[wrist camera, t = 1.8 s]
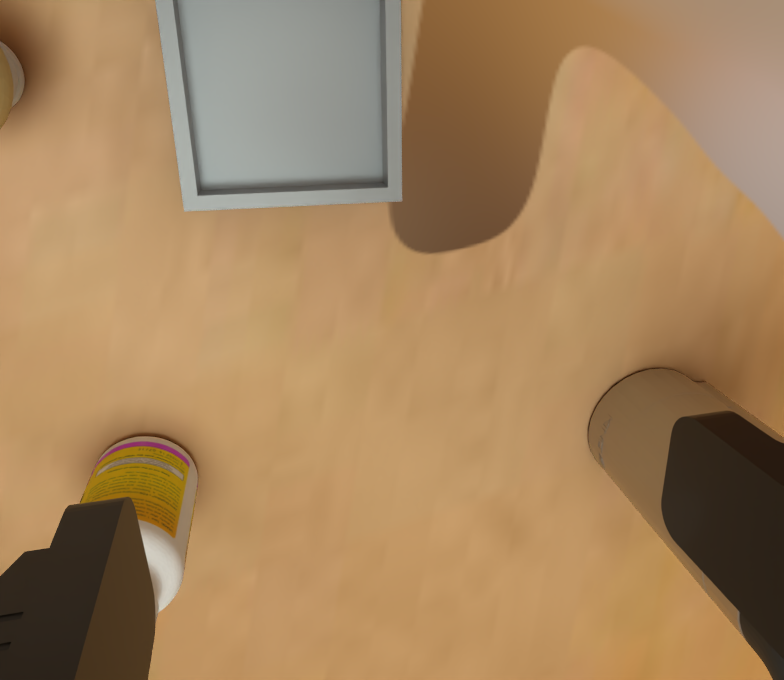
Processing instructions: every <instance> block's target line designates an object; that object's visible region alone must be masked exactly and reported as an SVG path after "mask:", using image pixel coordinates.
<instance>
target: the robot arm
mask: <svg viewBox="0 0 784 680" xmlns="http://www.w3.org/2000/svg"><path fill="white" fill-rule="evenodd" d="M588 441H589V445H590V449H591V452H592V454H593V456H594V458H595V459H596V461H597V462H598V463H599V464H600V465H601V467H602V468H603V469H604V470H605V471H606V473H607V474H608V475H609V476H610V477H611V479H612V480H613V481H614V482H615V483H616V485H617V486H618V487H619V488H620V490H621V491H622V492H623V493H624V495H625V496H626V497H627V498H628V499H629V501H630V502H631V503H632V504H633V505H634V507H635V508H636V509H637V510H638V511H639V513H640V514H641V515H642V516H643V517H644V519H645V520H646V521H647V522H648V523H649V525H650V526H651V527H652V528H653V529H654V531H655V532H656V533H657V534H658V535H659V537H660V538H661V539H662V540H663V541H664V543H665V544H666V545H667V546H668V547H669V549H670V550H671V551H672V552H673V553H674V555H675V556H676V557H677V558H678V559H679V561H680V562H681V563H682V564H683V565H684V567H685V568H686V569H687V570H688V571H689V573H690V574H691V575H692V576H693V577H694V579H695V580H696V581H697V582H698V583H699V585H700V586H701V587H702V588H703V589H704V591H705V592H706V593H707V594H708V595H709V597H710V598H711V599H712V600H713V601H714V602H715V604H716V605H717V606H718V607H719V608H720V610H721V611H722V612H723V613H724V614H725V616H726V617H727V618H728V619H729V620H730V622H731V623H732V624H733V625H734V626H735V628H736V629H737V630H738V631H739V632H740V634H741V635H742V636H743V637H744V638H745V640H746V641H747V642H748V643H749V645H750V646H751V647H752V648H753V649H754V651H755V652H756V653H757V654H758V656H759V657H760V658H761V659H762V661H763V662H764V664H765V666H766V667H767V669H768V671H769V673H770V675H771V677H772V679H773V680H784V438H783V437H782V436H781V435H779V434H778V433H776V432H775V431H774V430H772V429H771V428H769V427H768V426H767V425H765V424H764V423H763V422H761V421H760V420H758V419H757V418H756V417H754V416H753V415H751V414H750V413H749V412H747V411H746V410H745V409H743V408H742V407H740V406H739V405H738V404H736V403H735V402H733V401H732V400H731V399H729V398H728V397H727V396H725V395H724V394H722V393H721V392H720V391H718V390H717V389H715V388H714V387H713V386H711V385H710V384H709V383H707V382H694V381H692V380H691V379H689V378H688V377H686V376H685V375H684V374H682V373H679V372H677V371H674V370H670V369H662V368H660V369H649V370H645V371H642V372H638V373H635V374H633V375H631V376H629V377H627V378H625V379H624V380H622V381H621V382H619V383H618V384H617V385H615V386H614V387H613V388H612V389H611V390H610V391H609V392H608V393H607V394H606V395H605V396H604V397H603V398H602V400H601V401H600V403H599V404H598V405H597V407H596V409H595V411H594V413H593V416H592V418H591V421H590V426H589V432H588ZM154 635H155V598H154V590H153V584H152V580H151V575H150V571H149V567H148V562H147V558H146V553H145V549H144V544H143V540H142V535H141V531H140V526H139V522H138V518H137V513H136V509H135V506H134V503H133V501H132V499H131V498H130V497H122V498H115V499H109V500H102V501H95V502H88V503H81V504H74V505H69V506H68V507H67V508H66V509H65V511H64V514H63V516H62V518H61V521H60V523H59V526H58V528H57V531H56V533H55V536H54V538H53V541H52V543H51V546H50V548H47V549H40V550H34V551H27V552H24V553H23V554H22V555H21V556H20V557H19V558H18V559H17V560H16V561H15V562H14V563H13V564H12V565H11V566H10V567H9V568H8V569H7V570H6V571H5V572H4V573H3V574H2V575H1V576H0V680H148V674H149V668H150V662H151V655H152V649H153V642H154Z"/></svg>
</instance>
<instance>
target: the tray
mask: <svg viewBox="0 0 784 680" xmlns="http://www.w3.org/2000/svg"><path fill="white" fill-rule="evenodd" d="M155 2H156V9H157V16H158V24H159V31H160V38H161V45H162V53H163V60H164V67H165V75H166V82H167V89H168V96H169V104H170V111H171V118H172V126H173V133H174V140H175V148H176V155H177V162H178V169H179V177H180V184H181V191H182V199H183V206H184V211H204V210H225V209H246V208H268V207H289V206H310V205H332V204H353V203H374V202H396V201H402V104H401V0H155Z"/></svg>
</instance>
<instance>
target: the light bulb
mask: <svg viewBox="0 0 784 680" xmlns="http://www.w3.org/2000/svg"><path fill="white" fill-rule="evenodd" d="M24 83H25V79H24V73H23V69H22V66H21V64H20V62H19V60H18V59H17V57H16V55H15V54H14V53H13V52H12V51H11V49H9V48H8V47H7V46H6V45H5V44H4V43H2V42H1V41H0V129H1V128H2V126H3V125H4V123H5V122H6V120H7V118H8V115H9V113H10V110H11V108H12V107H13V106H14V105H15V104H16V103H17V102H18V101H19V99H20V97H21V95H22V93H23V90H24Z"/></svg>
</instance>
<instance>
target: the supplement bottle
mask: <svg viewBox="0 0 784 680" xmlns="http://www.w3.org/2000/svg"><path fill="white" fill-rule="evenodd" d="M197 487H198V474H197V470H196V467H195V464H194V462H193V460H192V459H191V457H190V456H189V455H188V454H187V453H186V452H185V451H184V450H183V449H182V448H181V447H179V446H178V445H176V444H174V443H172V442H170V441H168V440H165V439H162V438H158V437H150V436H140V437H133V438H129V439H126V440H123V441H121V442H119V443H117V444H115V445H113V446H112V447H110V448H109V449H108V450H107V451H105V453H104V454H103V455H102V456H101V457H100V459H99V460H98V462H97V464H96V466H95V468H94V470H93V472H92V475H91V477H90V479H89V482H88V484H87V487H86V489H85V491H84V494H83V496H82V499H81V501H80V504H81V503H88V502H95V501H102V500H109V499H115V498H122V497H130V498H131V499H132V501H133V503H134V506H135V509H136V513H137V518H138V522H139V526H140V531H141V535H142V540H143V544H144V549H145V553H146V558H147V562H148V567H149V571H150V575H151V580H152V584H153V590H154V598H155V623H156V619H157V616H158V613H159V612H160V611H161V610H163V609H164V608H165V607H166V606H167V605H168V604H169V603H170V602H171V601H172V600H173V598H174V597H175V595H176V594H177V592H178V590H179V588H180V586H181V583H182V579H183V574H184V569H185V562H186V555H187V549H188V543H189V537H190V531H191V525H192V519H193V512H194V507H195V501H196V495H197Z"/></svg>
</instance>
